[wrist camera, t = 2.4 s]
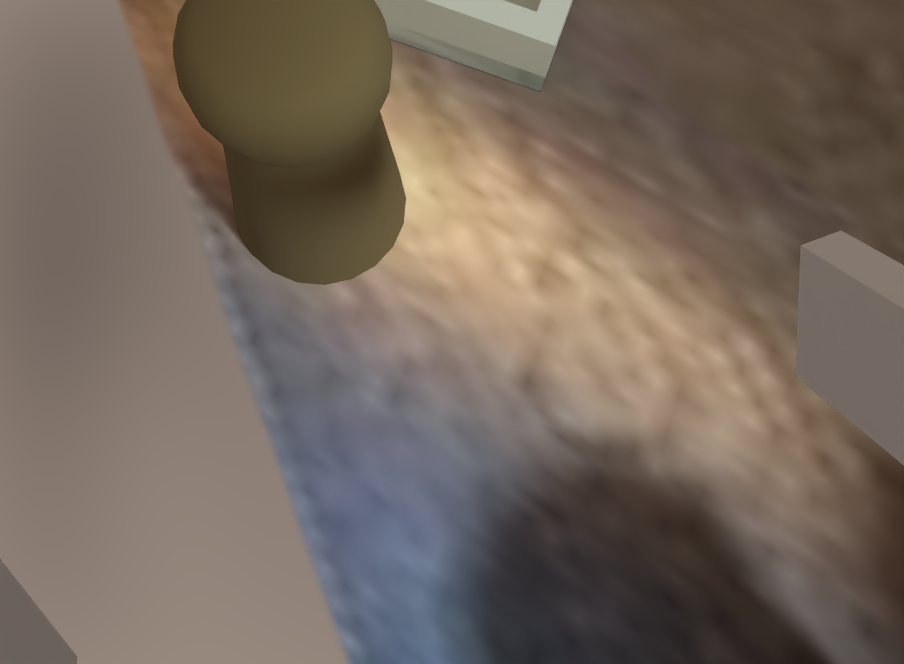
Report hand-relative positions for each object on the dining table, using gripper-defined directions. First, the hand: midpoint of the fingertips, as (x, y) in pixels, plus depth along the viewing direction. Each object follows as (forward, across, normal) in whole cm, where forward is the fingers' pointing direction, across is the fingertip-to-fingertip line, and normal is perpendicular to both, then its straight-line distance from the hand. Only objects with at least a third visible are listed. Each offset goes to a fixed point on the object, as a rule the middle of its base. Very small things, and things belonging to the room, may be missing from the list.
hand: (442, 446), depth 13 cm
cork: (+18, 0, -3) cm, 18 cm away
